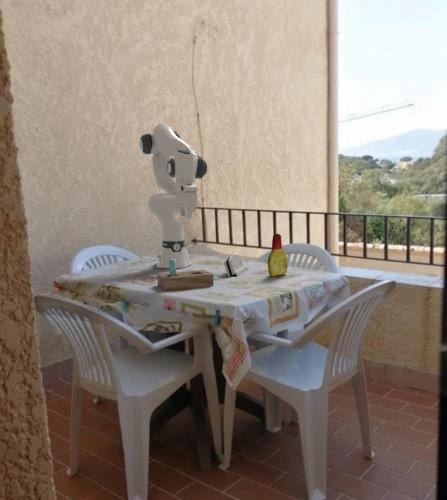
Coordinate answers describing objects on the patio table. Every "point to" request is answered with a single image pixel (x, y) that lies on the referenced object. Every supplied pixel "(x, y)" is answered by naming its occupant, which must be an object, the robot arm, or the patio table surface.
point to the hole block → (185, 280)
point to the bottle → (277, 258)
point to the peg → (172, 267)
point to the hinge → (234, 265)
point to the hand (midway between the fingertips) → (186, 217)
